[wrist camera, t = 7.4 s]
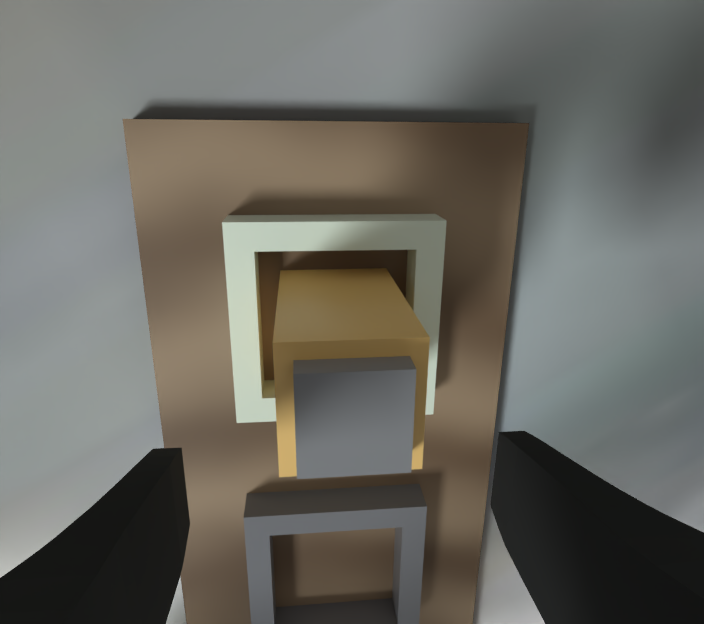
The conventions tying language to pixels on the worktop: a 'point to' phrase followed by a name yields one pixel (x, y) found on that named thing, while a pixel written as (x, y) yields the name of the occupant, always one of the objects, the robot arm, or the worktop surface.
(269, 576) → the grey square frame
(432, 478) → the switch board
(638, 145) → the worktop surface
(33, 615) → the robot arm
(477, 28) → the worktop surface
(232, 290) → the pale green square frame
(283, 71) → the worktop surface
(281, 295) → the plug
